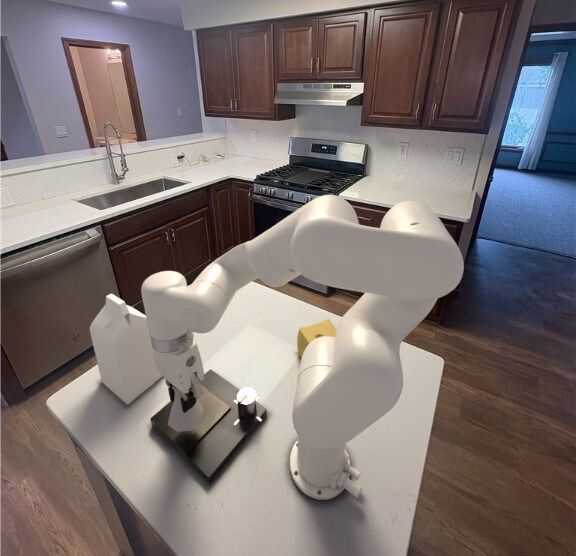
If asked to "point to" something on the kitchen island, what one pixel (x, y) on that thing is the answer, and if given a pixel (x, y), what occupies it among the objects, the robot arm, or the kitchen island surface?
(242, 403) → the hob knob
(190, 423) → the flask
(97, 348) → the milk
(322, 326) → the cheese
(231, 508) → the kitchen island surface
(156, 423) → the burner
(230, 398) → the hob
